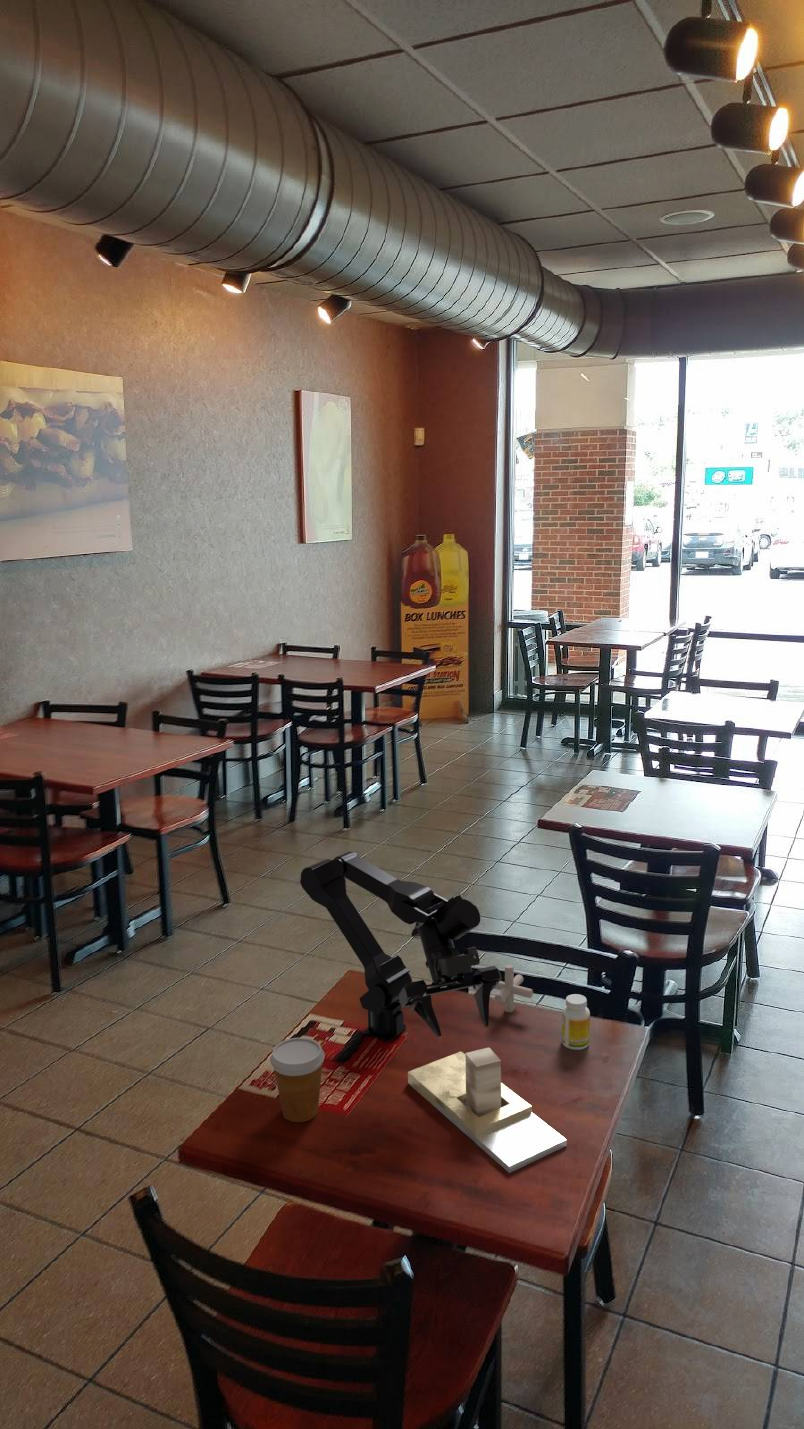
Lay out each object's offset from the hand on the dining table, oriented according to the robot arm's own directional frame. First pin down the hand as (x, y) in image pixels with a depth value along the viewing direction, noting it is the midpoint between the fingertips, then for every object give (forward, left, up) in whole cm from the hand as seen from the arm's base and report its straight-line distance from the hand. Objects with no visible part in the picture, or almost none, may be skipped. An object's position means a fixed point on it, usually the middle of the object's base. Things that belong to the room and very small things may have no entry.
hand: (463, 1032), depth 178 cm
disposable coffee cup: (-22, -21, -12) cm, 32 cm away
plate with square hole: (+6, -5, -11) cm, 14 cm away
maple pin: (+6, -5, -11) cm, 14 cm away
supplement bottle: (+11, +24, -12) cm, 29 cm away
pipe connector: (-6, +29, -12) cm, 32 cm away
